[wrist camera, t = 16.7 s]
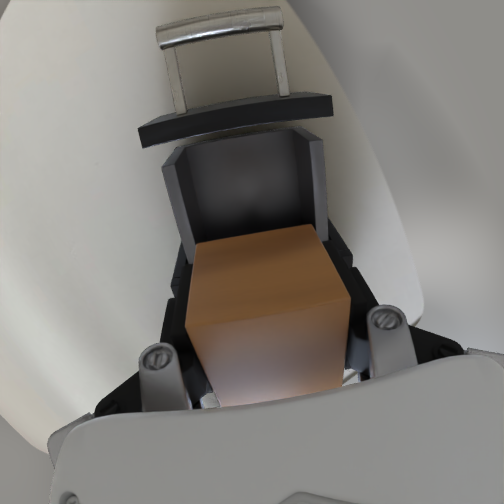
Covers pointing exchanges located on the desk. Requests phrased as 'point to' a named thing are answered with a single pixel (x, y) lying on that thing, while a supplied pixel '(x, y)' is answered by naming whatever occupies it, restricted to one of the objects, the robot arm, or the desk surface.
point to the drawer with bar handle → (240, 145)
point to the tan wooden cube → (268, 316)
